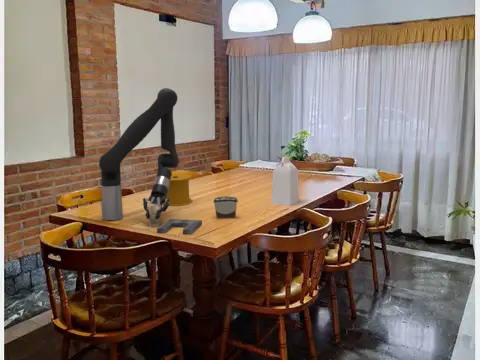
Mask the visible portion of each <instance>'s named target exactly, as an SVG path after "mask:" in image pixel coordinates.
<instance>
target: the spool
mask: <svg viewBox="0 0 480 360" xmlns="http://www.w3.org/2000/svg"><path fill="white" fill-rule="evenodd" d="M191 179H192V176H191V175H187V174H172V175H171V179H170V183H169V189H168V192H167V196H166V199H169V200H170V201H171V203H170V205H169V206H168V207H180V206H187V205H189V204H193V200H192V199H191V198H190V184H189V183H190V180H191ZM164 204H165V202H164V203H163V204H162V206H163V205H164Z"/></svg>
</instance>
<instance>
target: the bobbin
mask: <svg viewBox="0 0 480 360" xmlns="http://www.w3.org/2000/svg"><path fill="white" fill-rule="evenodd" d="M148 206H149V219H148V220H149V222H148V224H147V225H148V227H149V226H151V227H150V228H156V227H155V226H157V227H160V226H161V225H160V222H159V218H158V219H156V218H155V216H156V213H157V210H158V206H157V204H149V203H148ZM159 225H160V226H159Z"/></svg>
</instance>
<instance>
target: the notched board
mask: <svg viewBox="0 0 480 360" xmlns="http://www.w3.org/2000/svg"><path fill="white" fill-rule="evenodd" d="M202 225H203V220H201V219H182V218H181V219H179V218H177V219H176V218H169V219H167V220H166V221H165V222H163V223H162V224H161V225H160V226H157V227H156V234H157V233H158V234H166V233H168V232H169V231H170V230H172V229H173V228H182V234H183V235H193V234H194V233H195V232H196V231H197V230H198V229H199V228H200V227H201V226H202Z"/></svg>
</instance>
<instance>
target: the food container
mask: <svg viewBox="0 0 480 360" xmlns="http://www.w3.org/2000/svg"><path fill="white" fill-rule="evenodd" d="M237 203H239V199H238V198H237V197H236V196H230V195H229V196H217V197H214V199H213V202H212V204H214V209H215V217H216V220H217V219H219V220H220V219H221V220H222V219H224V220H225V219H236V218H237V217H236V214H237Z"/></svg>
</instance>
